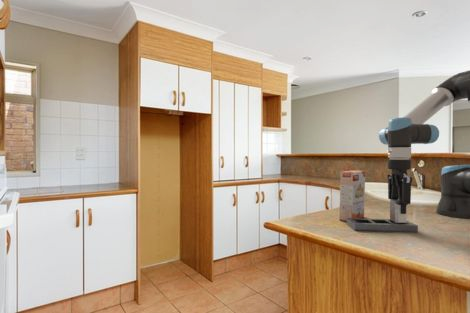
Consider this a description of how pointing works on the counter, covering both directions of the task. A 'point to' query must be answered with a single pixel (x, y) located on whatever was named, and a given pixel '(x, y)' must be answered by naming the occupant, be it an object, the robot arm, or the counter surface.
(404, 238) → the counter surface
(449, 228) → the counter surface
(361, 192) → the cracker box
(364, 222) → the grey compartment tray
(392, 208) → the block
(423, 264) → the counter surface
